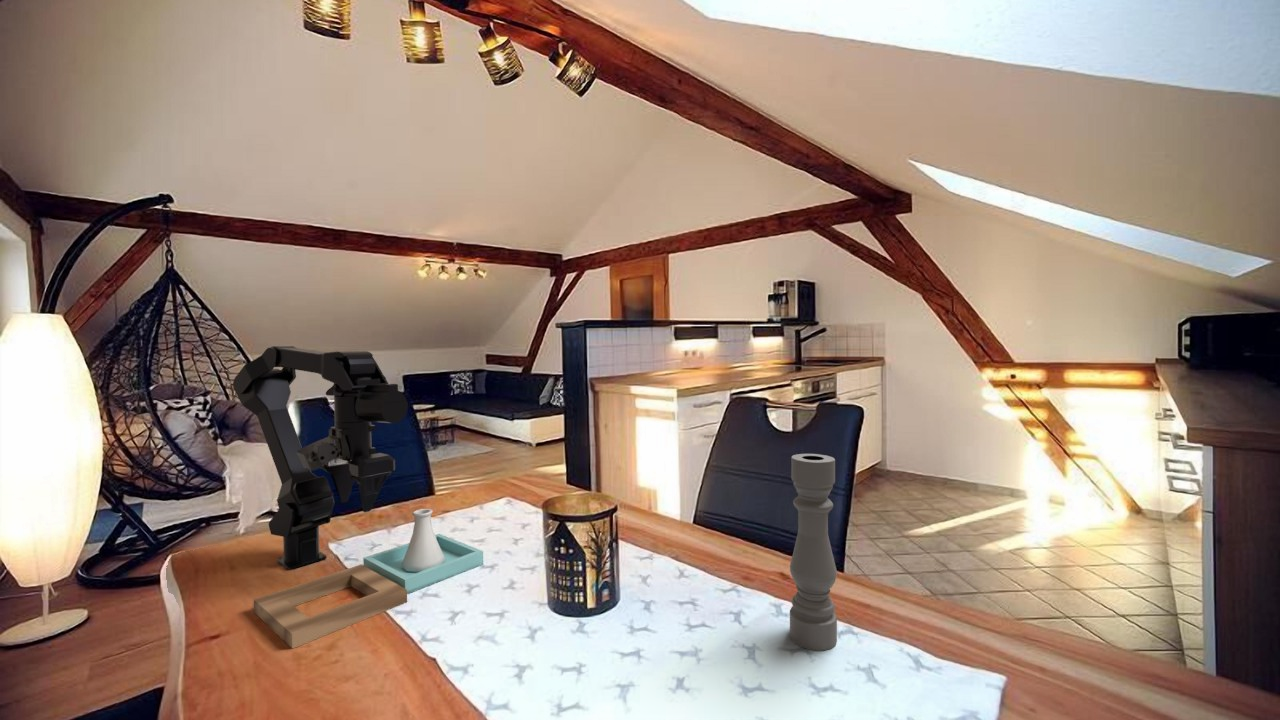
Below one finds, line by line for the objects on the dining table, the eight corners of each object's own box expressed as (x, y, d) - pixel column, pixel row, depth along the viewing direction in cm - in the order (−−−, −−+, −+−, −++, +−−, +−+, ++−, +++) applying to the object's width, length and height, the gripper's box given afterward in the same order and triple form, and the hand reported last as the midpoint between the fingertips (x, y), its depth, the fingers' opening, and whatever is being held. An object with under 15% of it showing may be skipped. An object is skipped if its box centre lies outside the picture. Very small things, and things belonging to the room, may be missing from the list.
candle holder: (813, 655, 67) (813, 465, 67) (780, 632, 73) (779, 456, 72) (847, 642, 70) (847, 459, 70) (812, 621, 76) (812, 451, 75)
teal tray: (363, 571, 94) (363, 557, 94) (439, 545, 106) (439, 533, 106) (405, 595, 85) (405, 580, 85) (483, 564, 97) (483, 551, 97)
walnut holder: (253, 612, 80) (253, 599, 80) (361, 575, 92) (361, 564, 92) (292, 648, 70) (292, 634, 70) (407, 602, 83) (406, 589, 83)
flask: (393, 569, 94) (391, 514, 93) (424, 554, 100) (423, 503, 100) (422, 576, 91) (421, 520, 90) (453, 560, 97) (452, 508, 97)
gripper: (282, 421, 92) (284, 508, 93) (325, 431, 81) (327, 530, 81) (348, 415, 101) (350, 494, 102) (395, 423, 90) (397, 512, 90)
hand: (355, 506), depth 93 cm, fingers open, 9 cm apart
